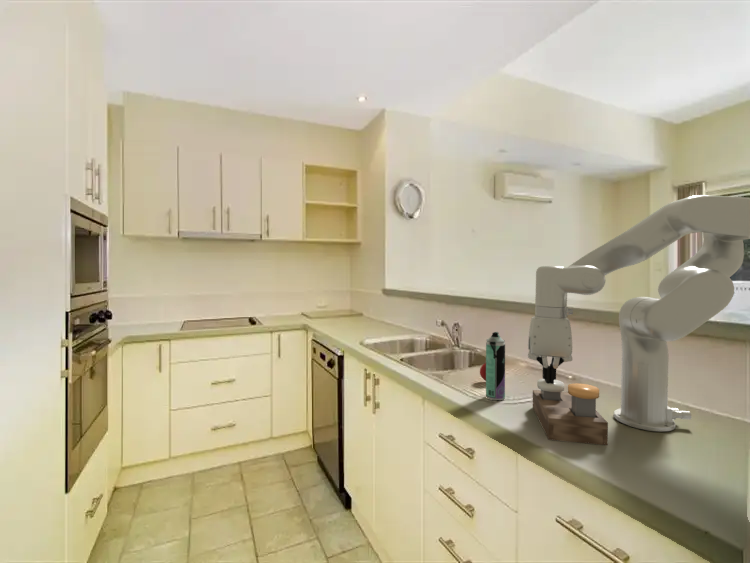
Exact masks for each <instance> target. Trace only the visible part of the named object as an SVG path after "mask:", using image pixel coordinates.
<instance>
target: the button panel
mask: <svg viewBox="0 0 750 563" xmlns="http://www.w3.org/2000/svg"><path fill="white" fill-rule="evenodd" d="M571 401H572V395H570V394H569V393H568V391H566V392H565V391H562V392H561V401H556V400H542V398H541V390H540V389H539V390H537V389H536V390H535V389H532V409H533V411H534V413H535V415H536V418H537V420H538V421H539V424H540V425H541V427H542V429H543V431H544V433H545V435H546V437H547V439H548V440H549V441H557V440H558V441H560V442H568V443H569V442H570V443H580V444H590V445H591V444H592V445H602V446H603V445H604V446H608V444H609V442H608V441H609V440H608V439H609V423H608V421H607V420H606V419H605V417H603V416H602V414H600V412H598V410H596V418H593V417H580V416H574V415H573V413H572V412H571Z"/></svg>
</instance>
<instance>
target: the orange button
mask: <svg viewBox="0 0 750 563" xmlns="http://www.w3.org/2000/svg"><path fill="white" fill-rule="evenodd" d="M567 392H568V393H569V394H570V395H572V401H571V412H572V413H573V415H574V416H580V417H593V418H596V411H597V410H596V409H597V406H596V405H597V399H599V398H600V388H599V387H597V386H595V385H591V384H587V383H576V382H574V383H569V384H567Z"/></svg>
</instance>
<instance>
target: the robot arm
mask: <svg viewBox="0 0 750 563" xmlns="http://www.w3.org/2000/svg"><path fill="white" fill-rule="evenodd" d="M696 233H702V236H703V237H702V238H703V241H702V245H701V248H700V249H699V250H698V251H697V252H696V253H695V254H694V255H693V256H692V257H690V258H689V259H688V260H686V261H685V262H683V263H682V264H680V265H679V266H678V267H676V268H675V269H673V271H671V272H669V273H668V274H667V275H665V276H664V277H663V279H662V280H661V281H660V282H659V284H658V288H657V291H658V296H659V297H660V298H657V297H650V296H637V297H632V298H630V299H628V300H626V301H625V302H624V303H623V304H622V305H621V307H620V309H619V313H618V323H619V324H618V325H619V330H620V337H621V377H620V378H621V380H620V381H621V384H620V385H621V386H620V388H621V389H620V390H621V391H620V393H621V394H620V395H621V396H620V397H621V398H620V407H619V408H617V409H615V410H614V411H613V417H614V419H616V420H617V421H618V422H620V423H622V424H623V425H626V426H629V427H632V428H635V429H639V430H645V431H650V432H661V433H662V432H670V431H673V430H675V429H676V421H674V420H677V419H680V420H692V413H691V411H689V410H688V411H686V410H680V409H679V408H676V407H670V406H669V405H668V402H669V401H668V400H669V399H668V397H669V393H668V392H669V360H670V358H669V346H668V342H674V341H679V340H680V339H683V338H685V337H687V336H688V335H690V334H691V333H692V332H694V331H695V330H696V329H698V328H700V327H701V326H702V325H704V324H705V323H706V322H708V321H709V320H711V319H712V318H714V317H715V316H716V315H718V314H719V313H720V312H721V311H723V310H724V309H726V307H727V306H728V305H730V302H731V301H732V299H733V296H734V295H735V286H734V285H735V284H734V282H733V280H732V278H730V277H732V276H733V275H734V274H736V272H737V271H738V270H739V269H740V268H741V267H742V265H743V262H744V257H745V256H744V254H745V250H744V249H745V248H744V246H745V245H744V241H745V240H750V197H744V196H742V197H741V196H740V197H739V196H726V195H711V194H710V195H707V194H700V195H699V194H698V195H692V196H691V195H690V196H688V197H685V198H681V199H678V200H674V201H672V202H669V203H667V204H665V205H664V206H661V207H660V208H658V209H657V210H656V211H654V212H653V213H651V214H650V215H648V216H646V217H645V218H644V219H642V220H641V221H639V222H638V223H636V224H634V225H633V226H631V227H630V228H629V229H627V230H625V231H623V232H622V233H621V234H619V235H618V236H616V237H614V238H612V239H610V240H609V241H607V242H606V243H604V244H601V245H600V246H598V247H597V248H595V249H593V250H592V251H590V252H588V253H587V254H585V255H584V256H582V257H581V258H579V259H577V260H575V262H572V264H570V265H568V266H567V267H566V266H565V267H564V266H562V265H561V266H560V265H545V266H544V265H543V266H538V267H537V269H536V270H535V297H534V298H535V304H534V306H535V307H534V311H535V312H534V316H532V317H531V319H530V323H529V330H528V343H527V346H528V348H527V349H528V352H527V358H528V359H530V360H533V361H537V362H538V363H539V364H540V365H541V366H542V379H545V381H546V383H551V384H554V380H557V369H558V368H559V367H560V366H561V365H562V364H563V363H568V362H572V361H573V355H572V354H573V336H572V325H571V322H570V319H569V318H568V316H569V315H573V314H574V310H573V308H569V307H568V294H575V295H576V294H577V295H583V296H590V295H594V294H597V293H599V292H600V291H601V290H602V289H603V288H604V287H605V285H606V276H607V275H609V274H611V273H614V272H615V271H618V270H620V269H624V268H626V267H631V266H634V265H637V264H640V263H642V262H645V261H647V260H649V259H650V258H652V257H654V256H655V255H656V254H658V253H660V252H661V251H662V250H664V249H666V248H667V247H670V245H672V244H674V243H675V242H676V241H677V242H678V240H680V239H681V238H683V237H685V236H687V235H689V234H690V235H691V234H696ZM550 357H551V360H550V364H549V362H548V358H550Z"/></svg>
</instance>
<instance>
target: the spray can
mask: <svg viewBox="0 0 750 563" xmlns="http://www.w3.org/2000/svg"><path fill="white" fill-rule="evenodd" d="M505 342H506V341H505V340H504V339H503V338H502V337H501V336H500V334H499V332H498V331H494V332H492V335H490V337H489V338H487V339H486V340H485V363H486V381H485V398H486V397H487V398H489V399H492V400H503V401H505V400H506V343H505ZM487 398H486V399H487ZM489 399H488V400H489ZM504 399H505V400H504ZM492 400H491V401H492Z"/></svg>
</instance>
